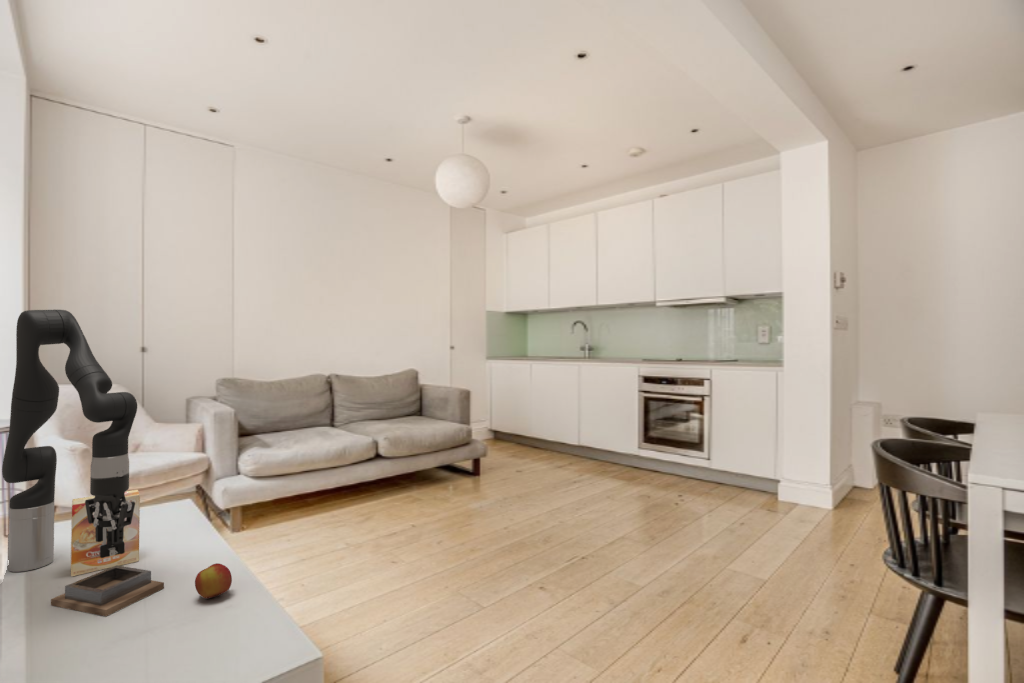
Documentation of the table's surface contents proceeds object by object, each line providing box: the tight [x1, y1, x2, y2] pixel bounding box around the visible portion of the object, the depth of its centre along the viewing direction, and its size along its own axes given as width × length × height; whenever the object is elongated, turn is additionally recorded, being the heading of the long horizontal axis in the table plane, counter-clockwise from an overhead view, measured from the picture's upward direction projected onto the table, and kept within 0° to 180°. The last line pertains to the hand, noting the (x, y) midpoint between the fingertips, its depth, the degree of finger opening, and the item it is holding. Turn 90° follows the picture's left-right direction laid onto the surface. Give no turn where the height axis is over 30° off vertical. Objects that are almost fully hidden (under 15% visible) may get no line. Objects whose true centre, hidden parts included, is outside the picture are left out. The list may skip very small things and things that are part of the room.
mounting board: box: [50, 579, 165, 617], centre depth 123 cm, size 18×14×2 cm
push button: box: [91, 512, 125, 558], centre depth 124 cm, size 7×5×10 cm
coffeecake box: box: [70, 489, 141, 578], centre depth 142 cm, size 15×7×20 cm, turn 131°
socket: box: [64, 565, 152, 606], centre depth 124 cm, size 12×12×3 cm
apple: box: [194, 563, 233, 599], centre depth 123 cm, size 8×8×8 cm
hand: (109, 541), depth 124 cm, fingers closed on push button, 4 cm apart
